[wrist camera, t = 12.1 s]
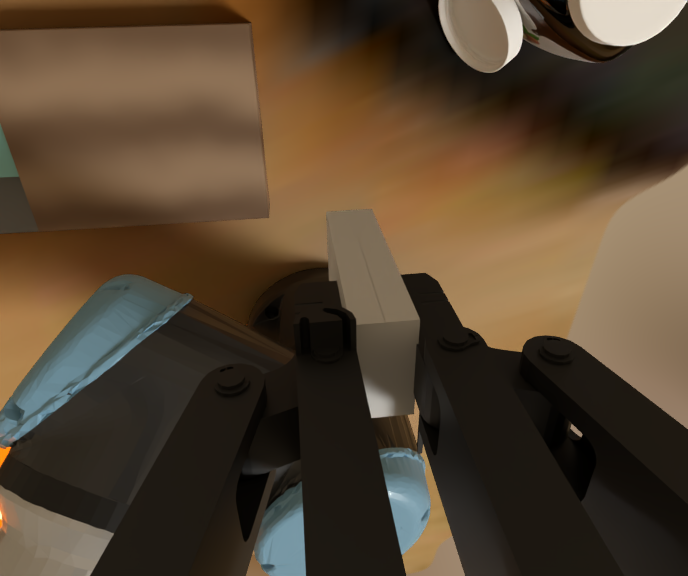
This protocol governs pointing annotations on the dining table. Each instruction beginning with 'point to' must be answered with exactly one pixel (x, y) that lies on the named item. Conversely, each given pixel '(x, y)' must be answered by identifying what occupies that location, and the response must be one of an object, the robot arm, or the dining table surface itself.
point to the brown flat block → (134, 124)
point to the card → (6, 158)
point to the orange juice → (0, 457)
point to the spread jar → (551, 27)
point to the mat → (15, 207)
